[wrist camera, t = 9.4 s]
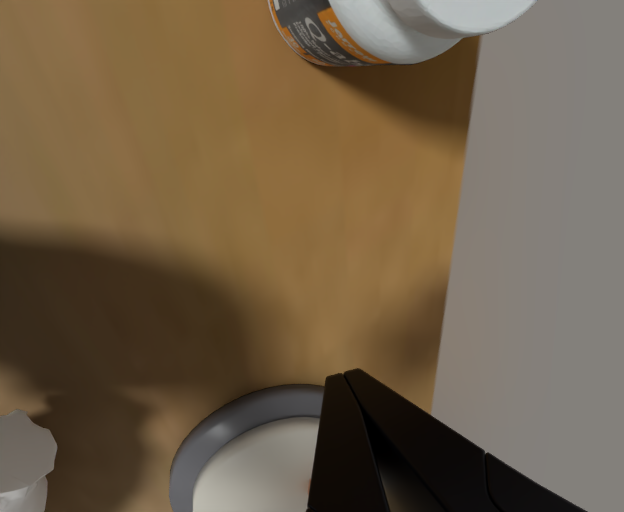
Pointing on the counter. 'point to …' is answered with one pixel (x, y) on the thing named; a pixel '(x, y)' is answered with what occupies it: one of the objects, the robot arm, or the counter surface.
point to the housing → (236, 431)
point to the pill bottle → (386, 27)
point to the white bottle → (24, 463)
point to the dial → (260, 470)
